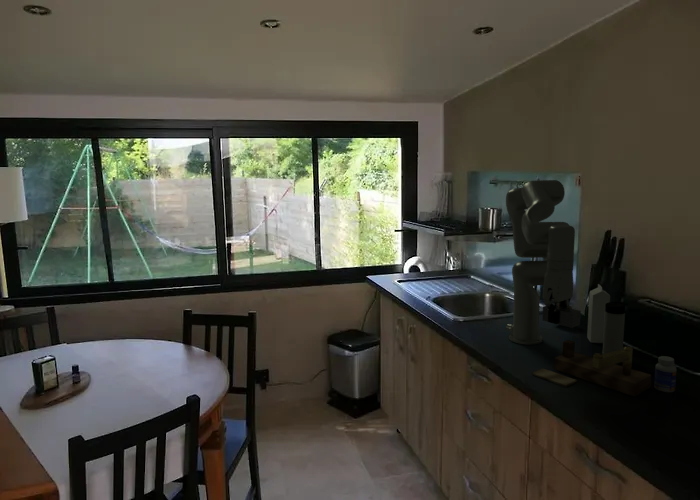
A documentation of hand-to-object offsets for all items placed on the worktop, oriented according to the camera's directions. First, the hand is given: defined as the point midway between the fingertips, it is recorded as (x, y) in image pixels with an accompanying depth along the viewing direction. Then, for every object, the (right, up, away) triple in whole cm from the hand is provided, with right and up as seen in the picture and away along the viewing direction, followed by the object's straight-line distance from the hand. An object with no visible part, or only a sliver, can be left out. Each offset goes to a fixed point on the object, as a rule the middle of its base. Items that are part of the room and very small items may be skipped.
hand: (557, 320), depth 155 cm
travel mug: (+27, -16, +19) cm, 37 cm away
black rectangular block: (+1, 0, -1) cm, 1 cm away
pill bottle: (+30, -20, -7) cm, 36 cm away
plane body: (+15, -19, +2) cm, 24 cm away
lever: (+13, -16, -8) cm, 22 cm away
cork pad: (0, -19, +3) cm, 19 cm away
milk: (+30, -13, +35) cm, 48 cm away
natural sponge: (+25, -10, +53) cm, 59 cm away
